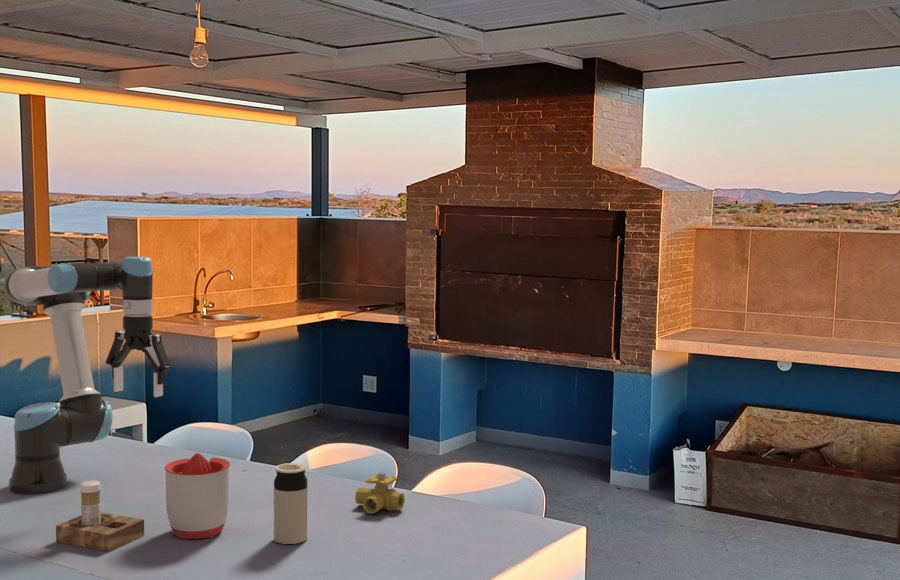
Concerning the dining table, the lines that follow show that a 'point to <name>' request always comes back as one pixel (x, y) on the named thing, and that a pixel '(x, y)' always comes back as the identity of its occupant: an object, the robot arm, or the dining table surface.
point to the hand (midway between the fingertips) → (138, 393)
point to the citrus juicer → (197, 496)
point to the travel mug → (290, 504)
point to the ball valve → (380, 495)
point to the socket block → (100, 532)
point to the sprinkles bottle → (90, 502)
